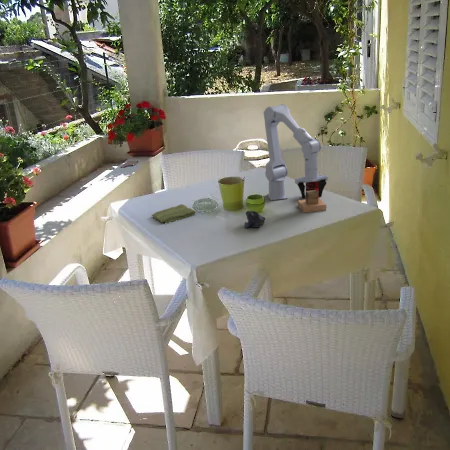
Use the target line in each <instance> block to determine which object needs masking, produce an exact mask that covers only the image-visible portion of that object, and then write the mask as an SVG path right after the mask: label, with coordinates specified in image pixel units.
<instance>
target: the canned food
mask: <svg viewBox="0 0 450 450" xmlns="http://www.w3.org/2000/svg"><path fill="white" fill-rule="evenodd" d="M318 176H323V174H322V173H321V172H319V171H318ZM311 190H316V191H317V192H318V181H315V182H306V183H305V192H306V191H311ZM318 198H320V197H319V195H318Z"/></svg>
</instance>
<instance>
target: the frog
mask: <svg viewBox="0 0 450 450" xmlns="http://www.w3.org/2000/svg"><path fill="white" fill-rule="evenodd" d="M245 215H246V219H247V221H245V222H244V228H246V229H248V228H250V227H252V228H258V227H262V226H263V225H264V224H265V223H266V221H265V220H266V217H265V216H262V215H261V214H259V212H258V211H256V210H254V211H252V210H247V211H246V212H245Z"/></svg>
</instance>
